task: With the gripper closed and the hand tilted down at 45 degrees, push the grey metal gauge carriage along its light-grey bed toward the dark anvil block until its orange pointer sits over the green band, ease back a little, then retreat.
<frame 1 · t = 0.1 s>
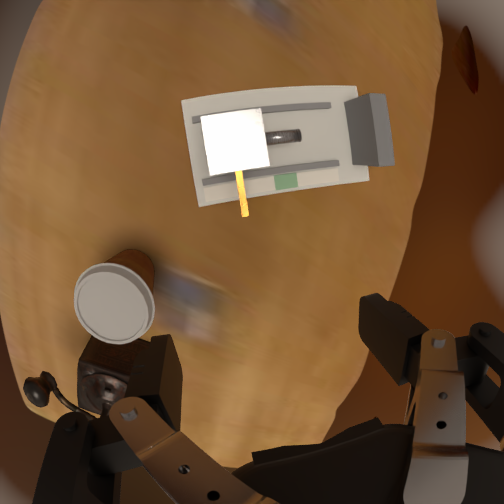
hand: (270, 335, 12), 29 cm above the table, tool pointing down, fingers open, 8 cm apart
disposable coffee cup: (133, 270, 40), on the table
gauge carriage: (257, 161, 33), point 6 cm above the table, slide at 0.0 cm
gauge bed: (280, 139, 38), on the table
manual coffee grinder: (108, 352, 43), on the table
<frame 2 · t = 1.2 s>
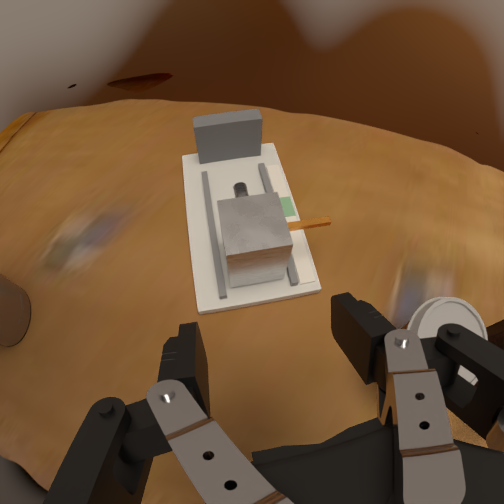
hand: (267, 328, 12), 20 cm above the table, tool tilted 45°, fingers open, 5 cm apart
disposable coffee cup: (395, 365, 31), on the table
gauge carriage: (271, 218, 33), point 5 cm above the table, slide at 0.0 cm
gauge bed: (241, 216, 39), on the table
manual coffee grinder: (482, 391, 28), on the table
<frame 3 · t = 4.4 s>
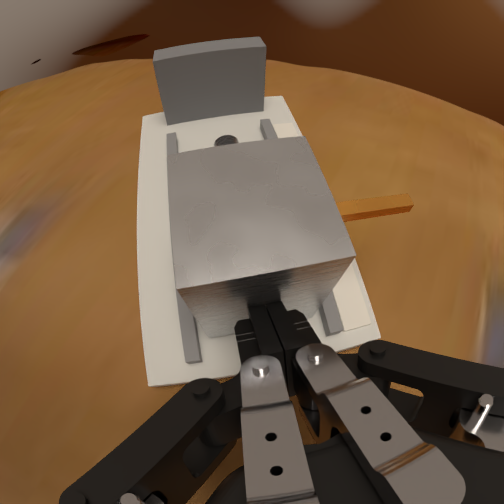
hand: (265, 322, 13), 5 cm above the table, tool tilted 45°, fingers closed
gauge carriage: (288, 199, 16), point 6 cm above the table, slide at 0.3 cm, touching gripper
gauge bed: (232, 204, 22), on the table
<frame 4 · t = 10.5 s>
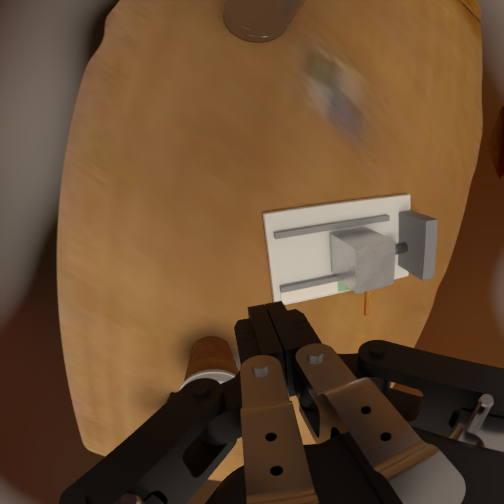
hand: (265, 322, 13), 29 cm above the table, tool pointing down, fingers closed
disposable coffee cup: (211, 351, 47), on the table
gauge carriage: (376, 271, 40), point 5 cm above the table, slide at 7.1 cm
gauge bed: (344, 246, 44), on the table
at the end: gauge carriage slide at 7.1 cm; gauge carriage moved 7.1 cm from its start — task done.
